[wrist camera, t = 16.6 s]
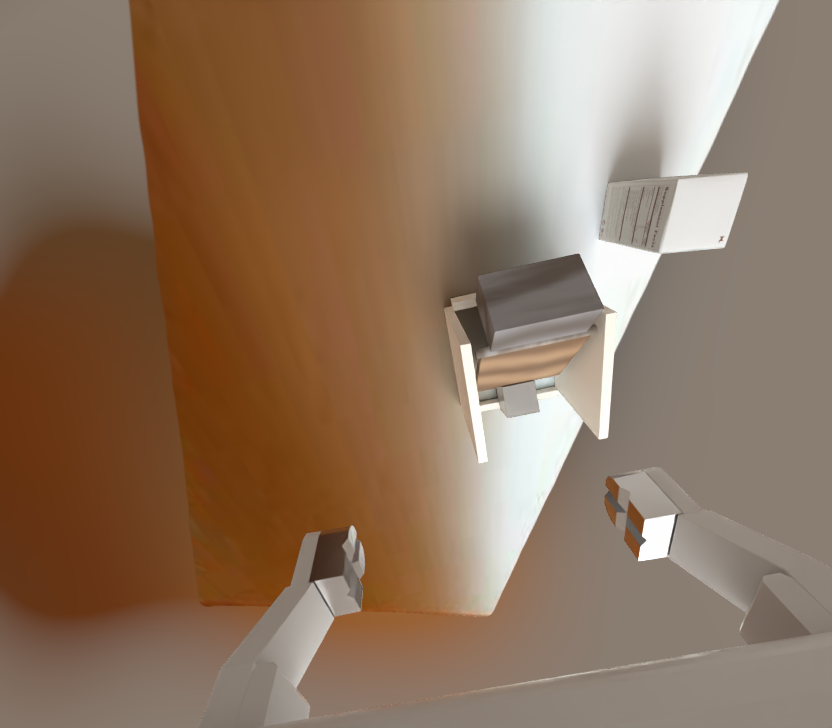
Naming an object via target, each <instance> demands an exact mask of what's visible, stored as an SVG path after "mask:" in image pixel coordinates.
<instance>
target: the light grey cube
mask: <svg viewBox="0 0 832 728" xmlns="http://www.w3.org/2000/svg"><path fill="white" fill-rule="evenodd" d="M496 389H497V395H498V400H499V406H500V410H501V411H502V412H503V413H504V414H505V416H506V417H507V418H511V417H516V416H521V415H526V414H531V413H536V412H540V411H539V405H538V399H537V393H536V387H535V381H534V380H532V381H527V382H523V383H518V384H513V385H508V386H503V387H498V388H496Z"/></svg>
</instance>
